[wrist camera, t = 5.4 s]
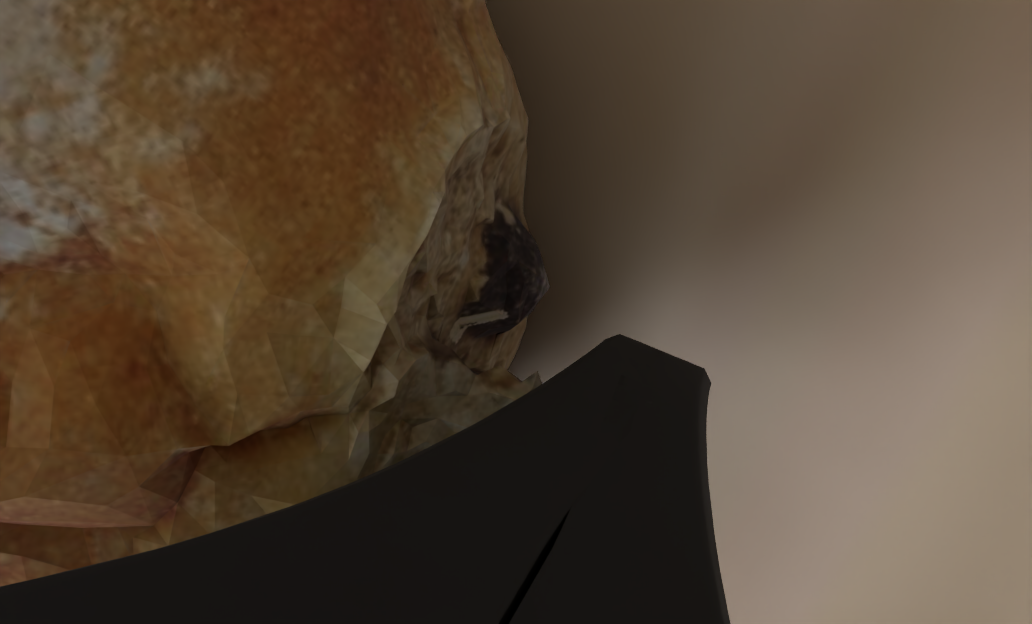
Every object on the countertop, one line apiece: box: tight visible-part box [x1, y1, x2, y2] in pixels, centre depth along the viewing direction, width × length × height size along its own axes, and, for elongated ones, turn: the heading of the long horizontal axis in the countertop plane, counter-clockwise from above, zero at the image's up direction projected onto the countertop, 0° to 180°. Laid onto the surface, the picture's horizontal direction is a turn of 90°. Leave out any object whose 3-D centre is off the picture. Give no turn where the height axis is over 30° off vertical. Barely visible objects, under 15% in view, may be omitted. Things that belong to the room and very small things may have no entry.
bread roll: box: [0, 0, 550, 586], centre depth 10 cm, size 10×10×8 cm
